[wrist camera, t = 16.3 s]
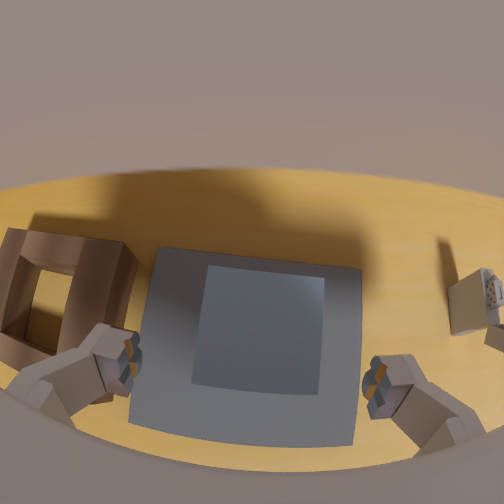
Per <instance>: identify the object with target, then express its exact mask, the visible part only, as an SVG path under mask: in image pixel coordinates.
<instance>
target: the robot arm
mask: <svg viewBox="0 0 504 504" xmlns="http://www.w3.org/2000/svg"><path fill="white" fill-rule="evenodd" d="M139 342H140V337H139V333H137V332H136V331H132V330H128V329H124V328H120V327H116V326H111V325H107V324H104V323H98V324H97V325H96V326H95V327H94V328H93V329H92V331H91V332H90V333H89V334H88V336H87V337H86V338H85V339H84V341H83V342H82V343H81V344H80V346H79V347H78V348H77V349H76V348H72V349H70V350H67V351H65V352H62V353H60V354H57V355H55V356H52V357H50V358H47V359H45V360H42V361H40V362H37V363H35V364H32V365H30V366H27V367H25V368H22V370H21V371H20V372H19V373H18V374H17V376H16V377H15V378H14V379H13V381H12V382H11V383H10V384H9V386H8V387H7V388H6V389H5V390H3V389H2V388H0V504H504V425H503V426H501V427H499V428H496V429H494V430H492V431H490V432H488V433H486V431H485V429H484V427H483V426H482V424H481V422H480V420H479V418H478V416H477V414H476V413H475V411H474V410H473V409H471V408H470V407H468V406H467V405H465V404H464V403H462V402H461V401H459V400H458V399H456V398H455V397H453V396H452V395H450V394H448V393H447V392H445V391H444V390H442V389H441V388H439V387H438V386H436V385H435V384H433V383H432V382H430V383H428V381H427V379H426V377H425V376H424V374H423V372H422V370H421V368H420V367H419V365H418V363H417V361H416V360H415V358H414V356H413V355H411V354H400V355H377V356H374V357H373V358H372V360H371V362H370V365H371V369H370V370H369V371H367V372H366V373H365V375H364V378H363V381H362V392H363V396H364V397H365V398H366V399H367V400H368V401H369V402H368V404H367V409H368V412H369V415H370V418H371V420H375V419H386V418H391V420H392V421H393V422H394V423H395V424H396V425H397V426H398V427H399V428H400V429H401V430H402V431H403V432H404V433H405V434H406V435H407V436H408V437H409V438H410V439H411V440H412V441H413V442H414V443H415V444H416V445H417V446H418V447H419V448H420V450H419V451H418V452H417V453H416V454H415V455H414V456H413V457H412V458H409V459H405V460H401V461H396V462H391V463H386V464H380V465H375V466H368V467H361V468H353V469H345V470H334V471H320V472H259V471H245V470H234V469H225V468H217V467H210V466H203V465H197V464H191V463H186V462H181V461H176V460H172V459H167V458H163V457H159V456H155V455H151V454H147V453H143V452H140V451H136V450H133V449H130V448H127V447H123V446H120V445H117V444H114V443H111V442H109V441H106V440H103V439H100V438H98V437H95V436H93V435H90V434H88V433H85V432H83V431H80V430H78V429H77V428H76V426H75V425H74V423H73V421H72V420H71V418H70V417H71V416H72V415H74V414H75V413H77V412H78V411H80V410H81V409H83V408H84V407H86V406H87V405H89V404H90V403H92V402H93V401H95V400H96V399H98V398H99V397H101V396H102V395H104V394H105V393H106V392H109V393H112V394H116V395H120V396H123V397H127V398H128V396H129V394H130V392H131V390H132V388H133V385H134V382H133V378H135V377H136V376H138V375H139V373H140V371H141V367H142V363H143V355H142V350H141V349H140V348H139V347H138V344H139Z"/></svg>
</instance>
